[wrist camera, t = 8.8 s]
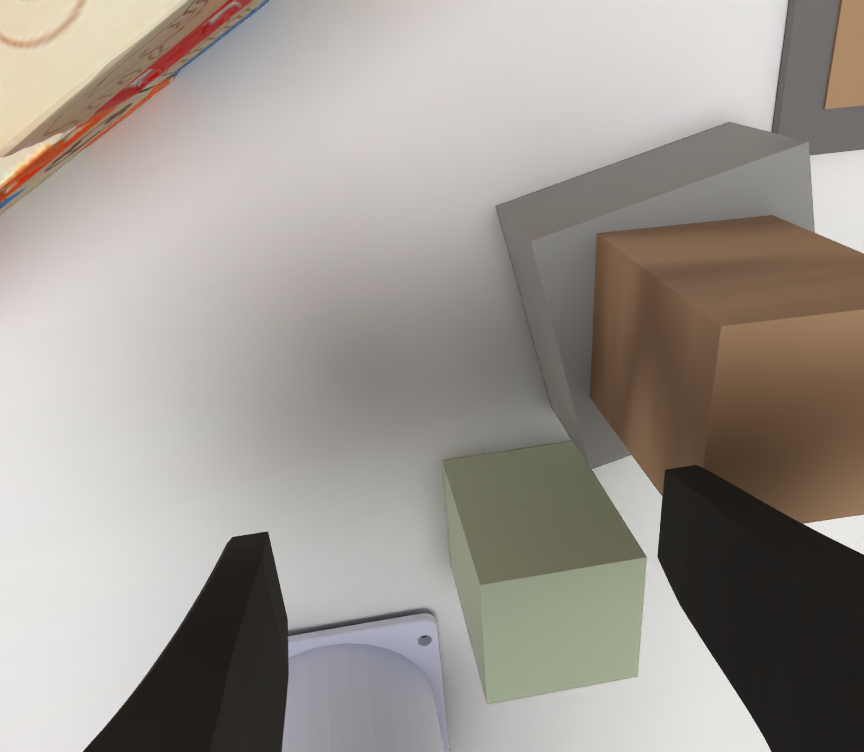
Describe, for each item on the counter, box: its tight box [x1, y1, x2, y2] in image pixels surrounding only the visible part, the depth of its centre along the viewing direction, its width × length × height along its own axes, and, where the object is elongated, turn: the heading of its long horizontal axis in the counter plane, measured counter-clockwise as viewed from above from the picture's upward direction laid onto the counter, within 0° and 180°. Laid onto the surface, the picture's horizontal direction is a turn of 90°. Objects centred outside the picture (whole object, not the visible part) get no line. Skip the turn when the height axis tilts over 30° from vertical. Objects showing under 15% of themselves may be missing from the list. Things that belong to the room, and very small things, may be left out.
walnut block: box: [590, 215, 864, 524], centre depth 16 cm, size 4×4×6 cm
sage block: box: [442, 441, 647, 704], centre depth 23 cm, size 4×4×6 cm
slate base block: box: [496, 122, 815, 469], centre depth 21 cm, size 7×7×4 cm
